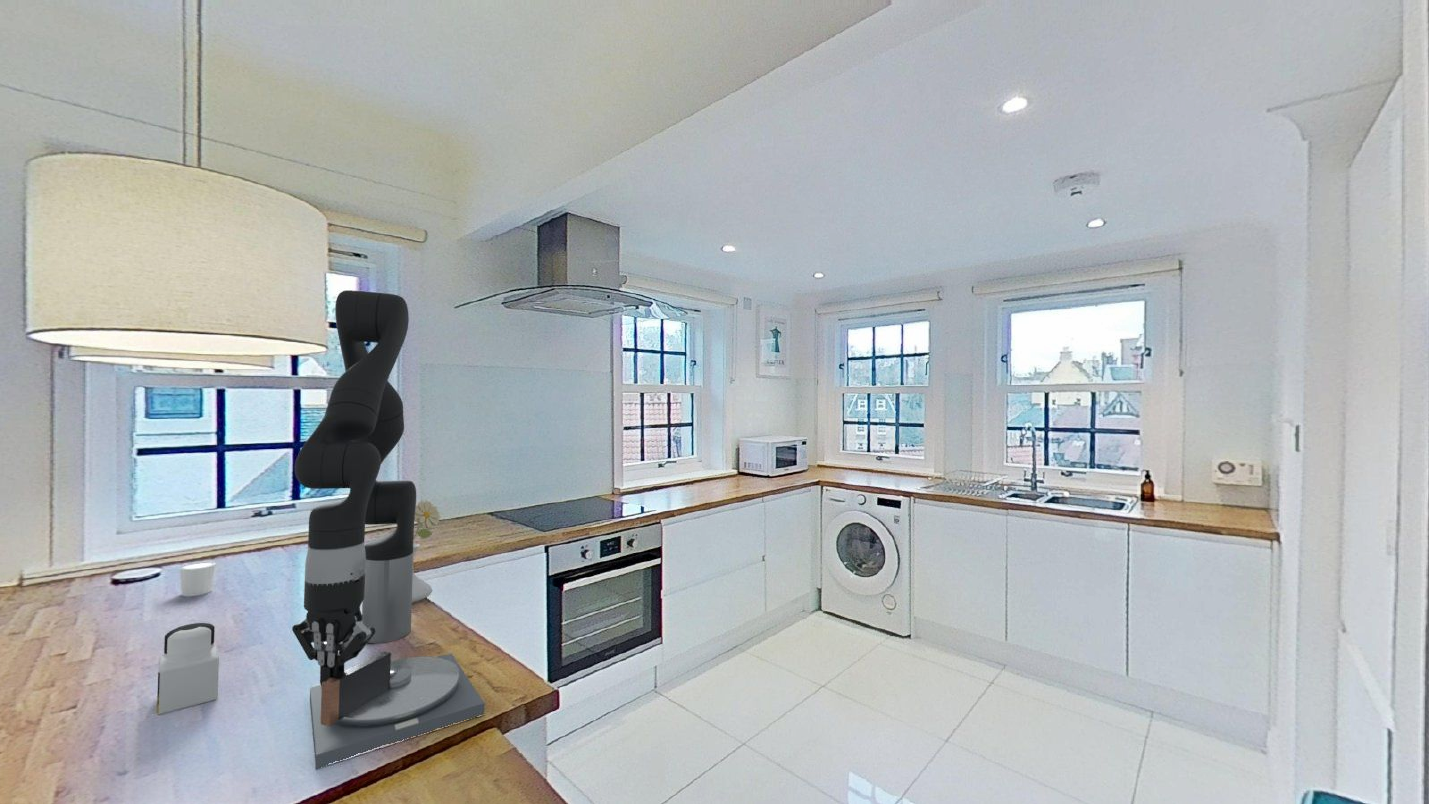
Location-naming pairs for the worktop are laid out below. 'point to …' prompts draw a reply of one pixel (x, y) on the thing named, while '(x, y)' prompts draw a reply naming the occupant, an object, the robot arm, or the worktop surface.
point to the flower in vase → (426, 519)
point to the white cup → (197, 578)
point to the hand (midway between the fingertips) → (331, 687)
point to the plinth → (359, 739)
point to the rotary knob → (387, 690)
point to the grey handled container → (188, 668)
